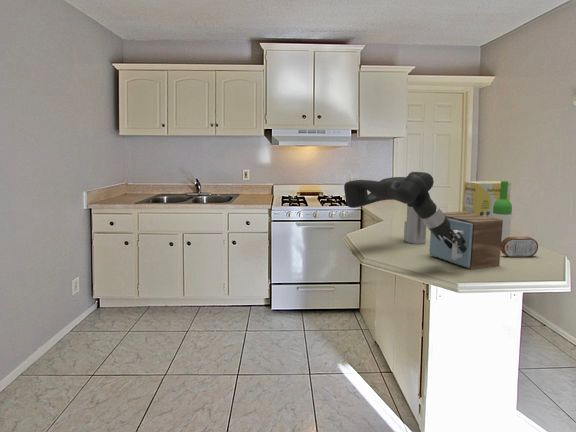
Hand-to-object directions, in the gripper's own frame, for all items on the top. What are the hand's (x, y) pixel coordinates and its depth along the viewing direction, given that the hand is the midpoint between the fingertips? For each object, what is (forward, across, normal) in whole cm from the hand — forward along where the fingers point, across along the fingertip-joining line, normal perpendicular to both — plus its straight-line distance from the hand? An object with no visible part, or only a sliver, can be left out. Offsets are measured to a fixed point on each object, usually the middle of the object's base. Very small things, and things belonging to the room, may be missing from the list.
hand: (458, 248), depth 171 cm
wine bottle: (+36, -20, +25) cm, 48 cm away
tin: (+31, -4, +20) cm, 38 cm away
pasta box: (+41, -37, +30) cm, 63 cm away
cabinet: (+12, -7, +2) cm, 15 cm away
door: (+5, -7, -4) cm, 10 cm away
